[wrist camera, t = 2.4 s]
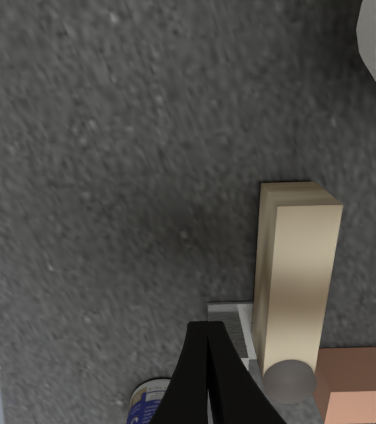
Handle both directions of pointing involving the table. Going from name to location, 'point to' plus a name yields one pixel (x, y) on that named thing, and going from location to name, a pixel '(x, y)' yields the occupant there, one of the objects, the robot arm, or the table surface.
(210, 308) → the hinge bracket
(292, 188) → the birch leg
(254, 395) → the robot arm
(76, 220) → the table surface
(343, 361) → the block
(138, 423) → the pill bottle
